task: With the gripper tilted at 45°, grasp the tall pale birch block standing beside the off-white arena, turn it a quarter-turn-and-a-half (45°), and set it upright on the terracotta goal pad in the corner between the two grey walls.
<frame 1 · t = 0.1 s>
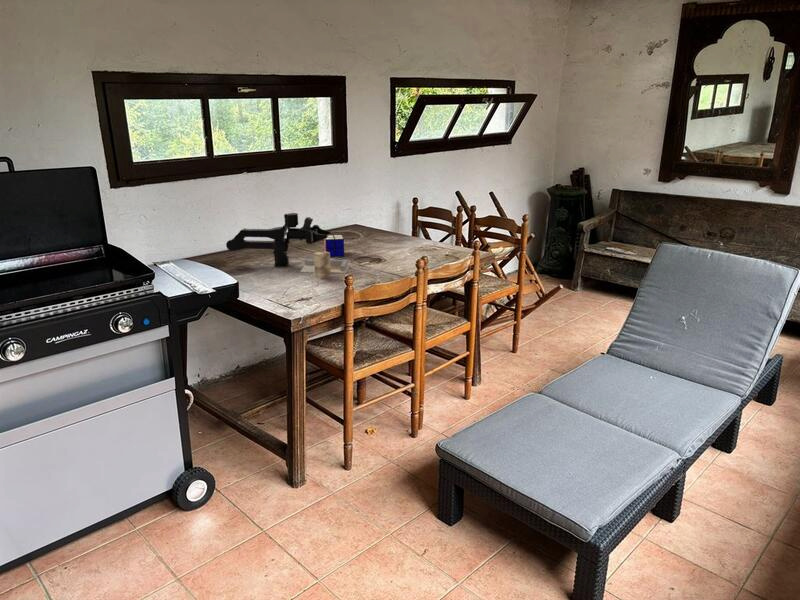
hand: (329, 234, 306), 17 cm above the table, tool horizontal, fingers open, 9 cm apart
puzzle cube: (334, 255, 335), on the table
arena: (325, 269, 306), on the table
birch block: (322, 276, 293), on the table
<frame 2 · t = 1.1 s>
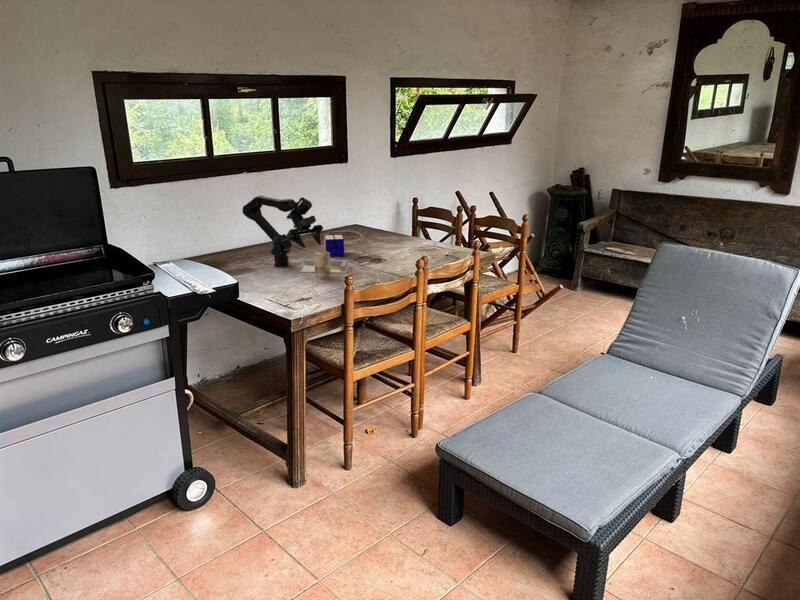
hand: (312, 246, 294), 14 cm above the table, tool tilted 45°, fingers open, 9 cm apart
nothing on the table moved.
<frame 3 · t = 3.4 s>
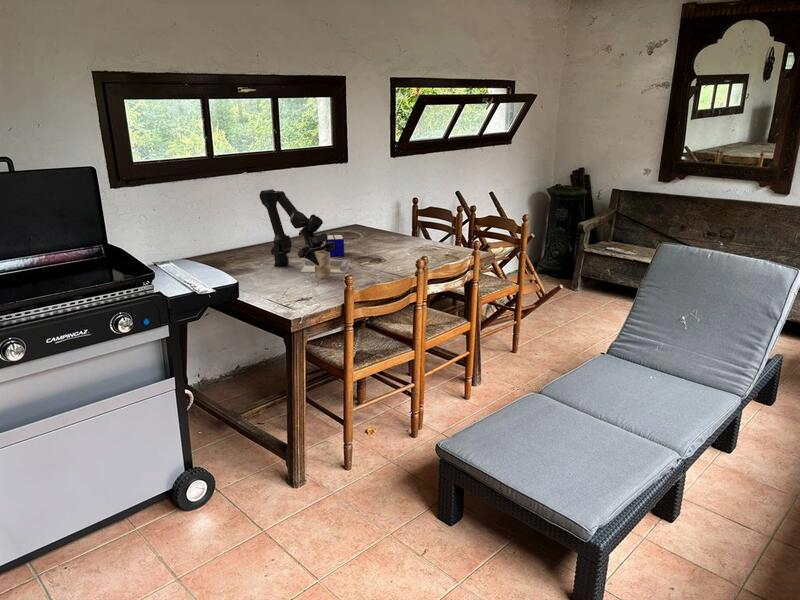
hand: (324, 264, 290), 7 cm above the table, tool tilted 45°, fingers closed on birch block, 6 cm apart
birch block: (322, 276, 293), on the table, touching gripper
everything else where it was.
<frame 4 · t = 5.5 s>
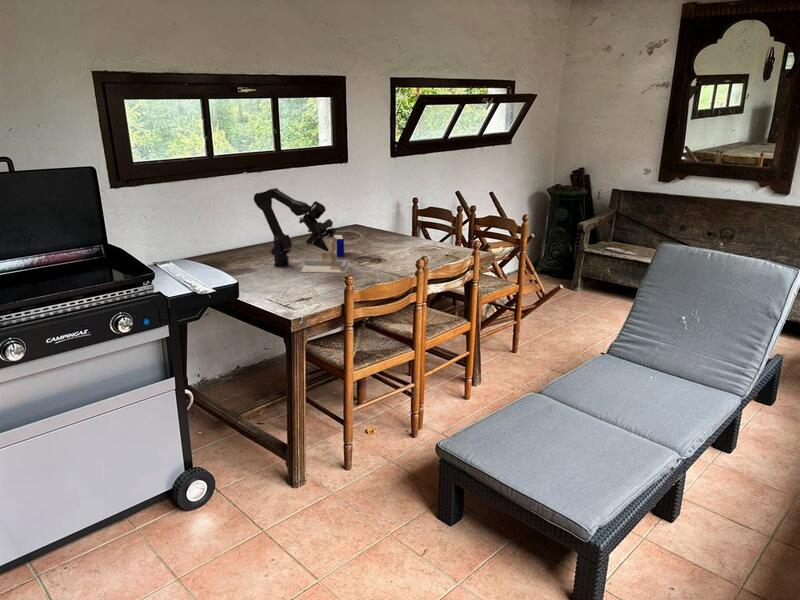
hand: (331, 249, 294), 12 cm above the table, tool tilted 45°, fingers closed on birch block, 6 cm apart
birch block: (329, 262, 297), point 6 cm above the table, touching gripper
everything else where it was.
when the fingers open (8 cm above the table, at t = 7.7 s): birch block drops 1 cm, resting on arena.
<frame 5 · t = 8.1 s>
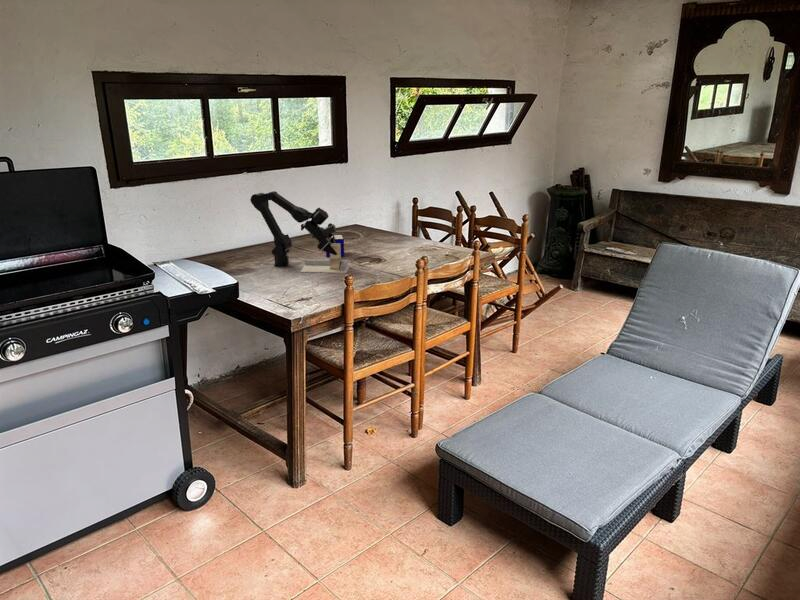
hand: (337, 252, 304), 9 cm above the table, tool tilted 45°, fingers open, 9 cm apart
birch block: (335, 267, 307), point 1 cm above the table, touching arena
everything else where it was.
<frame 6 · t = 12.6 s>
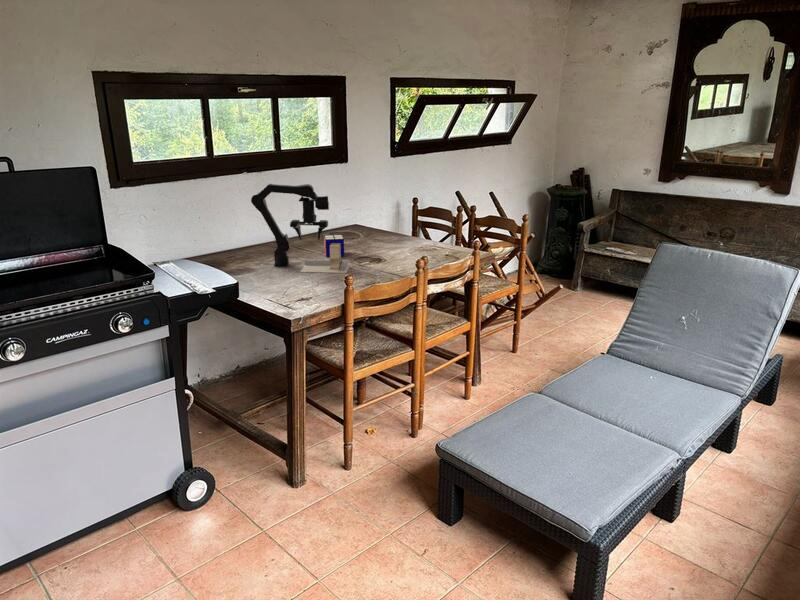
hand: (309, 240, 310), 13 cm above the table, tool pointing down, fingers open, 9 cm apart
nothing on the table moved.
at the end: birch block 0.1 cm from the target spot, point 0.5 cm above the table; birch block tilted 0°; the gripper is holding nothing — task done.
